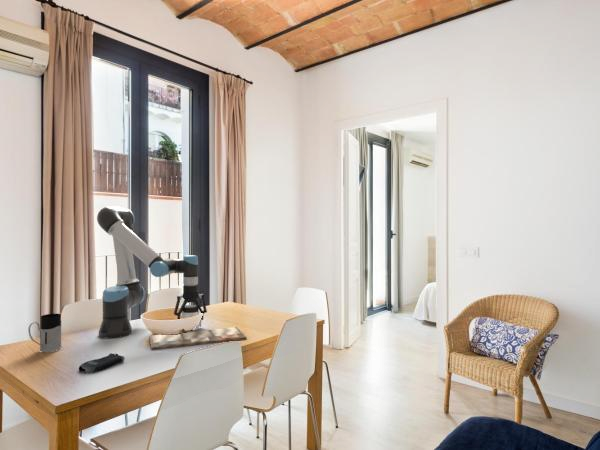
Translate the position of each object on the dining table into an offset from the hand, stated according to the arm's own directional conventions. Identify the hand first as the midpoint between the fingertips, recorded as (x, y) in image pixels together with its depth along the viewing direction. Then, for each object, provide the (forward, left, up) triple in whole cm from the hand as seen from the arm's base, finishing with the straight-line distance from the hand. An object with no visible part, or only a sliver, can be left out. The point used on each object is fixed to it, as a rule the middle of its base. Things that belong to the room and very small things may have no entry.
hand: (190, 327), depth 208 cm
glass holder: (-63, -14, -1) cm, 65 cm away
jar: (0, 0, -1) cm, 1 cm away
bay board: (+1, -19, -1) cm, 19 cm away
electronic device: (-40, -44, -2) cm, 59 cm away
